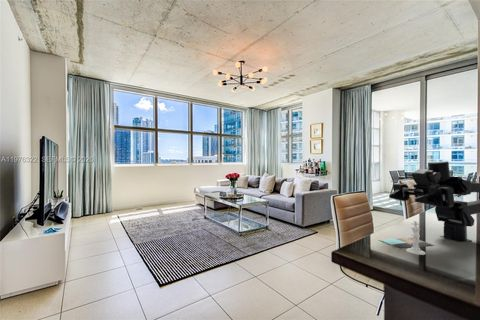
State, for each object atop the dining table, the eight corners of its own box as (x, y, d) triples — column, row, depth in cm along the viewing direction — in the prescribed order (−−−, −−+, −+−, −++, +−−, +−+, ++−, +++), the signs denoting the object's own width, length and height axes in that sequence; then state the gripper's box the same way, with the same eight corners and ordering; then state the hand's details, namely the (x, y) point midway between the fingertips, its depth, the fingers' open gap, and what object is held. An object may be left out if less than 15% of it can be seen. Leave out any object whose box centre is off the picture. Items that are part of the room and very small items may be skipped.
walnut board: (412, 239, 83) (411, 237, 83) (436, 247, 75) (436, 245, 75) (377, 241, 80) (377, 240, 80) (399, 250, 72) (399, 248, 72)
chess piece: (430, 257, 67) (429, 223, 67) (411, 256, 68) (410, 223, 68) (420, 251, 72) (419, 220, 72) (402, 250, 73) (402, 219, 73)
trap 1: (407, 244, 76) (407, 243, 76) (415, 247, 74) (415, 246, 74) (392, 245, 75) (392, 244, 75) (400, 248, 72) (400, 247, 72)
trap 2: (424, 242, 78) (424, 242, 78) (433, 245, 75) (433, 244, 75) (410, 243, 77) (410, 243, 77) (418, 246, 74) (418, 246, 74)
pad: (394, 239, 82) (394, 238, 82) (406, 243, 77) (406, 242, 77) (379, 240, 80) (379, 239, 80) (390, 244, 76) (390, 244, 76)
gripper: (407, 168, 90) (376, 174, 86) (464, 169, 72) (427, 176, 68) (410, 196, 90) (379, 202, 86) (468, 203, 72) (432, 212, 68)
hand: (401, 198), depth 77 cm, fingers open, 9 cm apart
